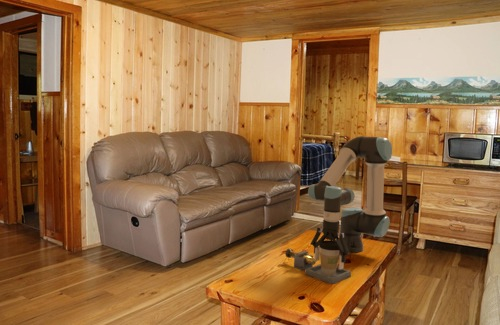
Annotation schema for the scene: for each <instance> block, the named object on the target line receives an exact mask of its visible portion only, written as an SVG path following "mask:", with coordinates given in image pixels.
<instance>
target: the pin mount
mask: <svg viewBox="0 0 500 325" xmlns="http://www.w3.org/2000/svg"><path fill="white" fill-rule="evenodd" d="M301 255H305V256H308V257H311V258H314V255H313V254H309V251H307V250H305V249H304V250H302V251H298V252H296V255H294V258H293V260H294V261H293V267H294V268H295V269H297V270H300V271H302V272H304V271H305V272H306V269H308V268H311V267H313V266H314V265H312V264H310V263H307V262H306V258H305V257H302V256H301Z"/></svg>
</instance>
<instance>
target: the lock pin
mask: <svg viewBox="0 0 500 325" xmlns="http://www.w3.org/2000/svg"><path fill="white" fill-rule="evenodd" d="M296 253H297V252H296V251H293V249H292V248H287V249H286V251H285V254H284V255H285V257H286V258H289V259H291V258H292V259H294V255H296ZM301 256H302V257H305V258H306V262H307V263H310V264H312V265H313V266H315V264H317V263H316V262H317V261H315V257H313V258H311V257H308V256H305V255H301Z"/></svg>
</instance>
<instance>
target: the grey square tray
mask: <svg viewBox="0 0 500 325" xmlns="http://www.w3.org/2000/svg"><path fill="white" fill-rule="evenodd" d="M304 273H305V275H306V276H309V277H311V278H313V279H317V280H318V281H322V282H325V283H326V284H329V285H335V284H337V283H339V282H341V281H343V280H346V279H348V278H350V277H351V276H352V271H351V270H348V269H345V268H343V269H341V270H340V269H339V266H337V268H336V273H335V276H333V277H329V276H326V275H323V274H322V271H321V263H320V264H317V265H313V267H311V268H308V269H306V270H305V272H304Z"/></svg>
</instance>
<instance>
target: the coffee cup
mask: <svg viewBox="0 0 500 325" xmlns="http://www.w3.org/2000/svg"><path fill="white" fill-rule="evenodd" d="M318 247H320V256H319V260H320V264H321V271H322V274H323V275H326V276H329V277H333V276H335V273H336V268H337V267H338V264H339V257H340V252H339V250H338V248H337V246H336V244H335V243H334V242H333V241H331V240H327V239H325V240H324V241H321V244H320V245H319V246H318Z"/></svg>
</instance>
